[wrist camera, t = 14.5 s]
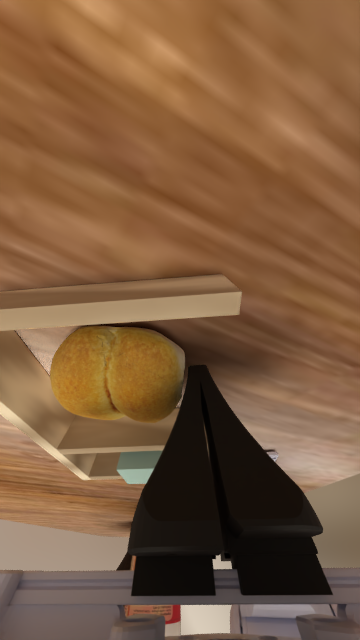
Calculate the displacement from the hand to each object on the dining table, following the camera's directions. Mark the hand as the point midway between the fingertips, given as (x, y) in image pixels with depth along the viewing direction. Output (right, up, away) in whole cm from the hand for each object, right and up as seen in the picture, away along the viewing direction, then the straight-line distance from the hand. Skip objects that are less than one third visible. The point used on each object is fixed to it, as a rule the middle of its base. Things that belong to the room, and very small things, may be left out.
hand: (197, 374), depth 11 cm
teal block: (-5, -8, +6) cm, 11 cm away
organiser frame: (-5, -2, +3) cm, 6 cm away
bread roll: (-5, +1, +1) cm, 5 cm away
